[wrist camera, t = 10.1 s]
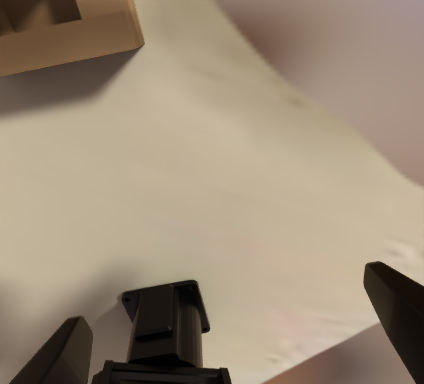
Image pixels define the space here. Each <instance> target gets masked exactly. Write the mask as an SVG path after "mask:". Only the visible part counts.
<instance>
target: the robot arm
mask: <svg viewBox="0 0 424 384" xmlns="http://www.w3.org/2000/svg"><path fill="white" fill-rule="evenodd" d="M363 283H364V288H365V290H366V292H367V294H368V296H369V299H370V301H371V303H372V305H373V307H374V309H375V311H376V313H377V315H378V318H379V320H380V322H381V324H382V326H383V328H384V330H385V332H386V334H387V336H388V337H389V340H390V341H391V343H392V345H393V346H394V348H395V350H396V351H397V353H398V355H399V356H400V358H401V360H402V361H403V363H404V365H405V366H406V368H407V369H408V371H409V373H410V374H411V376H412V378H413V379H414V381H415V383H416V384H424V286H422V285H421V284H419V283H417V282H416V281H414V280H412V279H410V278H409V277H407V276H405V275H403V274H402V273H400V272H398V271H396V270H395V269H393V268H391V267H389V266H388V265H386V264H384V263H382V262H380V261H376V262H371V263H367V264H366V265H365V271H364V281H363ZM192 286H193V287H192ZM121 300H122V303H123V305H124V307H125V309H126V311H127V313H128V315H129V317H130V319H131V321H132V323H133V326H132V332H131V337H130V343H129V349H128V354H127V360H126V363H121V362H114V361H112V360H106V361H105V364H104V368H103V371H100V372H99V373H98V374H96V375H94V376H93V380H92V383H91V384H232V383H231V379H230V376H229V372H228V368H221V367H220V368H219V369H215V368H203V358H202V336H201V334H202V333H207V332H209V331H210V324H209V321H208V317H207V313H206V310H205V306H204V303H203V299H202V296H201V292H200V289H199V285H198V283H197V281H195V280H189V281H184V282H178V283H173V284H167V285H162V286H156V287H151V288H146V289H140V290H135V291H129V292H125V293H123V295H122V299H121ZM92 341H93V333H92V330H91V329H90V327H89V325H88V324H87V322H86V320H85V319H84V317H83V316H74V317H70V318H68V319H67V320H66V321H65V322H64V323H63V324H62V325H61V326H60V327H59V328H58V330H57V331H56V332H55V333H54V334H53V335H52V336H51V337H50V338H49V340H48V341H47V342H46V343H45V344H44V345H43V346H42V347H41V349H40V350H39V351H38V352H37V353H36V354H35V355H34V356H33V357H32V359H31V360H30V361H29V362H28V363H27V364H26V365H25V366H24V367H23V369H22V370H21V371H20V372H19V373H18V374H17V375H16V376H15V377H14V379H13V380H12V381H11V382H10V383H9V384H87V383H88V375H89V366H90V358H91V350H92Z"/></svg>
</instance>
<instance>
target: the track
mask: <svg viewBox="0 0 424 384" xmlns="http://www.w3.org/2000/svg"><path fill="white" fill-rule="evenodd" d="M144 44H145V42H144V38H143V34H142V31H141V27H140V23H139V19H138V15H137V11H136V8H135V4H134V0H0V77H1V76H6V75H11V74H16V73H21V72H25V71H30V70H35V69H40V68H45V67H50V66H55V65H60V64H64V63H69V62H74V61H79V60H84V59H89V58H94V57H99V56H103V55H108V54H113V53H118V52H123V51H128V50H133V49H136V48H138V47H140V46H142V45H144Z"/></svg>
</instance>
